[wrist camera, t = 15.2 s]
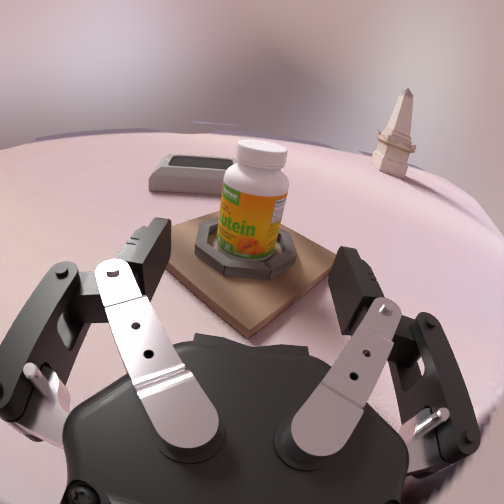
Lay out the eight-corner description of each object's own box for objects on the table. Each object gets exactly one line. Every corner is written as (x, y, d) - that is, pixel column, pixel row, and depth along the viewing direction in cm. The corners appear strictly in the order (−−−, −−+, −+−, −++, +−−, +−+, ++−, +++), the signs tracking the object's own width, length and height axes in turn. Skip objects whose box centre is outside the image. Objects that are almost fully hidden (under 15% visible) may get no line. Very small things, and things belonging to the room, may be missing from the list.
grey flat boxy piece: (257, 176, 37) (149, 168, 34) (253, 200, 39) (148, 193, 36) (249, 158, 45) (161, 151, 42) (246, 178, 47) (160, 172, 44)
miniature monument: (405, 179, 76) (429, 94, 59) (378, 170, 76) (401, 81, 59) (394, 170, 84) (414, 93, 68) (368, 162, 84) (388, 82, 68)
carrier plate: (247, 339, 18) (251, 320, 17) (142, 245, 25) (140, 227, 24) (338, 265, 28) (344, 249, 27) (241, 210, 35) (243, 196, 33)
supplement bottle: (204, 249, 25) (214, 141, 19) (234, 227, 29) (249, 135, 23) (256, 273, 23) (281, 158, 17) (282, 246, 27) (305, 150, 22)
